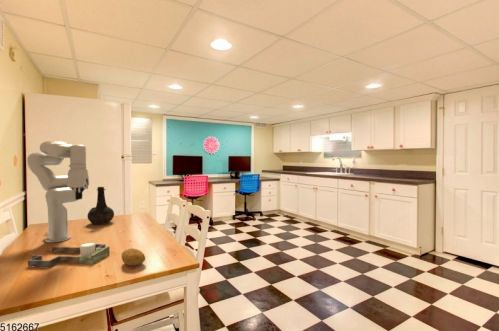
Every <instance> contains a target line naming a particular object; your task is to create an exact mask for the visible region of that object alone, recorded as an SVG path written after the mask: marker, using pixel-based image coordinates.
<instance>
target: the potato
mask: <svg viewBox="0 0 499 331" xmlns="http://www.w3.org/2000/svg"><path fill="white" fill-rule="evenodd" d="M121 261H122V262H123V264H125V265H128V266H132V267H133V266H134V267H135V266H139V265H142V264H143V263H144V262H145V261H146V255H145V254H144V253H143V251H141V250H140V249H137V248H128V249H125V250H124V251H123V252H122V253H121Z"/></svg>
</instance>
